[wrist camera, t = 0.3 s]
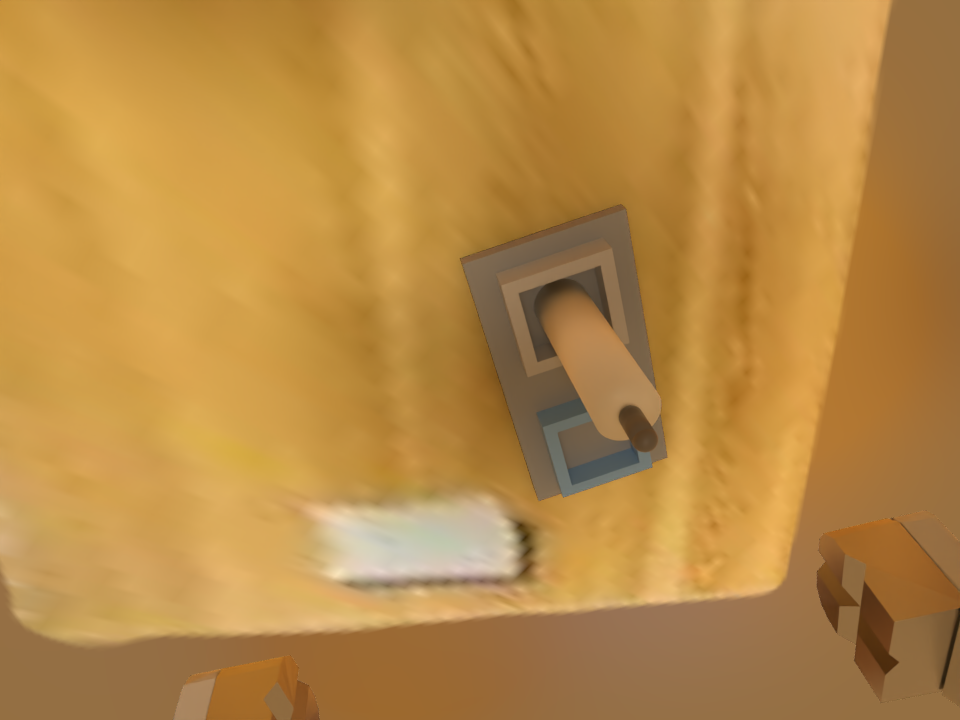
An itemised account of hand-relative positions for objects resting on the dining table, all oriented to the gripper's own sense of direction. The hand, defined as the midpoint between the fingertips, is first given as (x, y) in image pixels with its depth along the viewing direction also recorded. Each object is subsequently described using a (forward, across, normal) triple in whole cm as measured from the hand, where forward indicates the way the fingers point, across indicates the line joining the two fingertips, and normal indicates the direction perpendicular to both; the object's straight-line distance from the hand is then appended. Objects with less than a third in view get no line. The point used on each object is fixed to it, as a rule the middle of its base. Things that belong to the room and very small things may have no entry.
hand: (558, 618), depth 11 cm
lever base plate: (+40, -6, +22) cm, 46 cm away
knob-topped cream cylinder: (+38, -5, +16) cm, 42 cm away
